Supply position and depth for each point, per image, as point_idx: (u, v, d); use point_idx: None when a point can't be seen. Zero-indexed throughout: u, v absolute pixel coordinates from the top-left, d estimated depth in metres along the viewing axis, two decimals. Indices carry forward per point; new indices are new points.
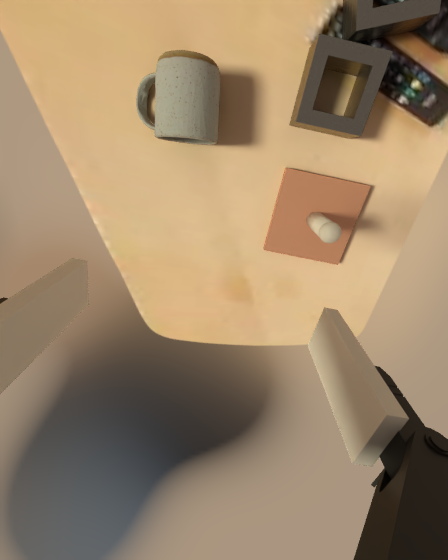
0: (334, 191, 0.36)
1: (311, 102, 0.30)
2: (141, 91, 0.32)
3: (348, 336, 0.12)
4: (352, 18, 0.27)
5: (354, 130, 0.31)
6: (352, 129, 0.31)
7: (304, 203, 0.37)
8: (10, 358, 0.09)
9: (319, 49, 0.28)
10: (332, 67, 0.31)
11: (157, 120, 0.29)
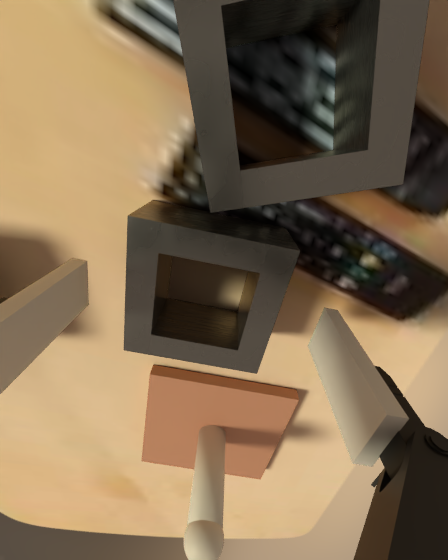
0: (237, 403, 0.21)
1: (145, 324, 0.14)
2: None
3: (348, 336, 0.12)
4: None
5: (242, 365, 0.15)
6: (237, 364, 0.15)
7: (191, 415, 0.22)
8: (10, 358, 0.09)
9: (135, 242, 0.12)
10: None
11: None
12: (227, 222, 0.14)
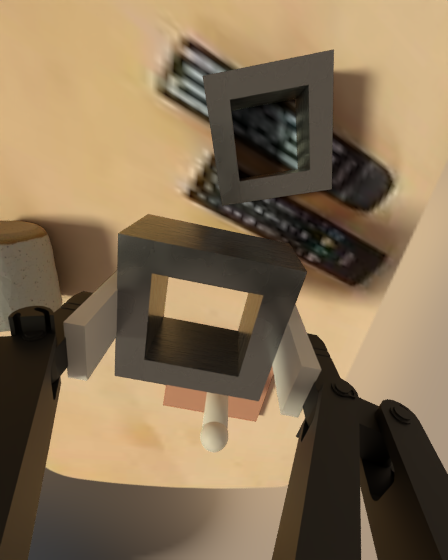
0: None
1: (138, 349, 0.13)
2: None
3: None
4: None
5: (243, 392, 0.14)
6: (238, 391, 0.14)
7: None
8: (99, 343, 0.11)
9: (127, 262, 0.11)
10: None
11: None
12: (227, 239, 0.13)
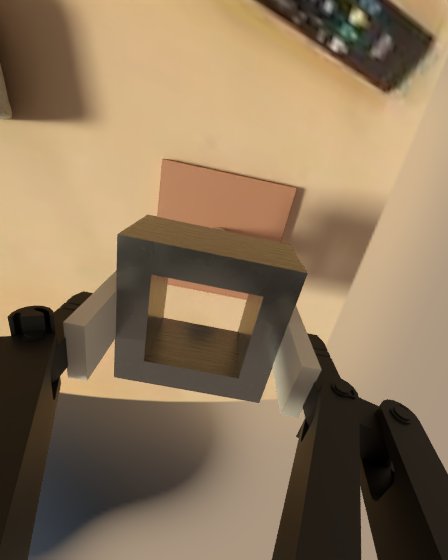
0: (240, 196, 0.23)
1: (138, 350, 0.13)
2: None
3: None
4: None
5: (243, 393, 0.14)
6: (238, 392, 0.14)
7: (198, 214, 0.24)
8: (99, 343, 0.11)
9: (126, 263, 0.11)
10: None
11: None
12: (227, 239, 0.13)
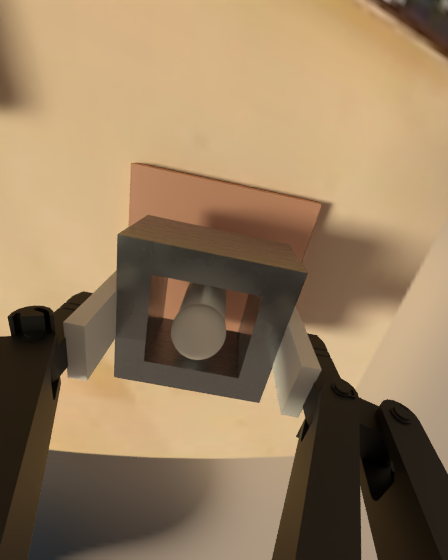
0: (243, 214, 0.17)
1: (138, 350, 0.13)
2: None
3: None
4: None
5: (243, 393, 0.14)
6: (238, 392, 0.14)
7: None
8: (99, 343, 0.11)
9: (126, 263, 0.11)
10: None
11: None
12: (227, 239, 0.13)
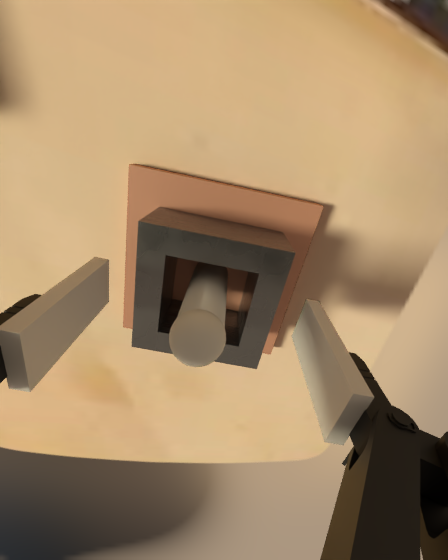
0: (243, 216, 0.16)
1: (152, 322, 0.15)
2: None
3: (326, 324, 0.13)
4: None
5: (242, 360, 0.16)
6: (238, 359, 0.16)
7: None
8: (46, 350, 0.10)
9: (144, 246, 0.13)
10: None
11: None
12: (228, 227, 0.15)
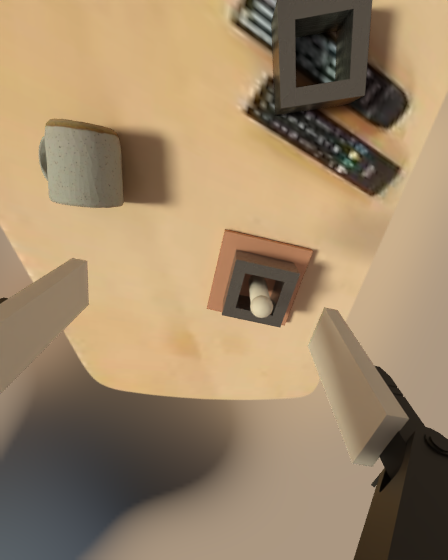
0: (275, 254, 0.35)
1: (234, 303, 0.34)
2: (43, 149, 0.30)
3: (348, 336, 0.12)
4: (278, 94, 0.26)
5: (273, 322, 0.35)
6: (272, 322, 0.34)
7: None
8: (10, 358, 0.09)
9: (237, 269, 0.32)
10: None
11: (48, 185, 0.27)
12: (269, 260, 0.34)
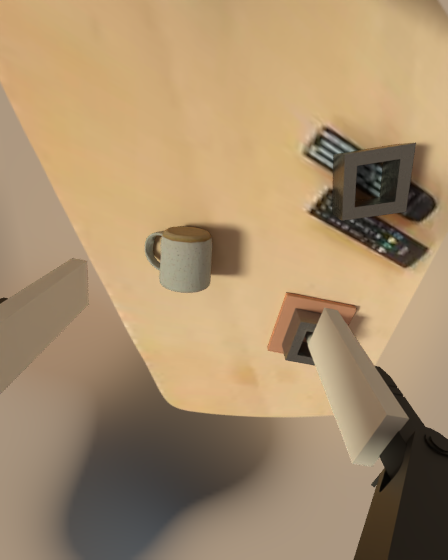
0: None
1: (296, 351, 0.43)
2: (149, 241, 0.40)
3: (348, 336, 0.12)
4: (339, 208, 0.35)
5: None
6: None
7: None
8: (10, 358, 0.09)
9: (300, 328, 0.41)
10: None
11: (162, 276, 0.37)
12: None
